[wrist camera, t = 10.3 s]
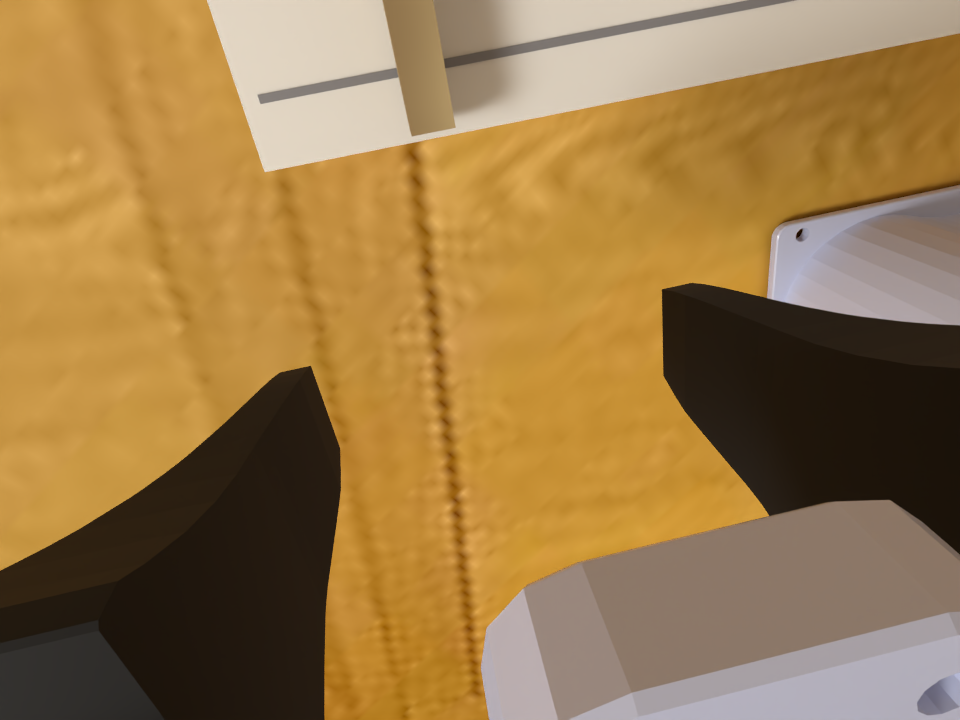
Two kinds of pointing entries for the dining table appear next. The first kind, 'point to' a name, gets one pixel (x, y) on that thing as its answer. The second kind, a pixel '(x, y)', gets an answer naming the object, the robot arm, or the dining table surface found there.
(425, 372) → the dining table surface
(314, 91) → the board
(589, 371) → the dining table surface
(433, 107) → the chocolate popsicle
